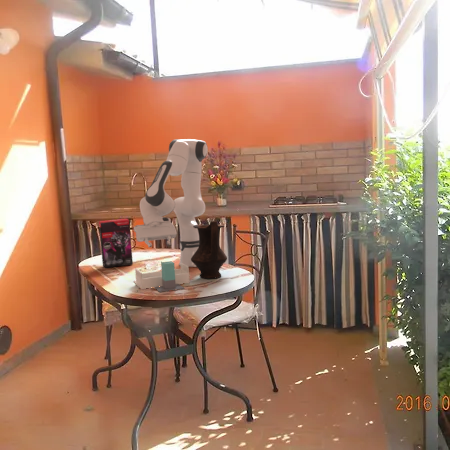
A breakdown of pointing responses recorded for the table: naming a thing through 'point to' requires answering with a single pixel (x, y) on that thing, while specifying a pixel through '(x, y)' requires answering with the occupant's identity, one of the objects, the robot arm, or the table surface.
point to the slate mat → (168, 289)
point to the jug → (209, 251)
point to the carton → (156, 277)
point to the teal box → (168, 275)
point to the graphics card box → (115, 243)
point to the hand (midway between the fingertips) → (159, 245)
